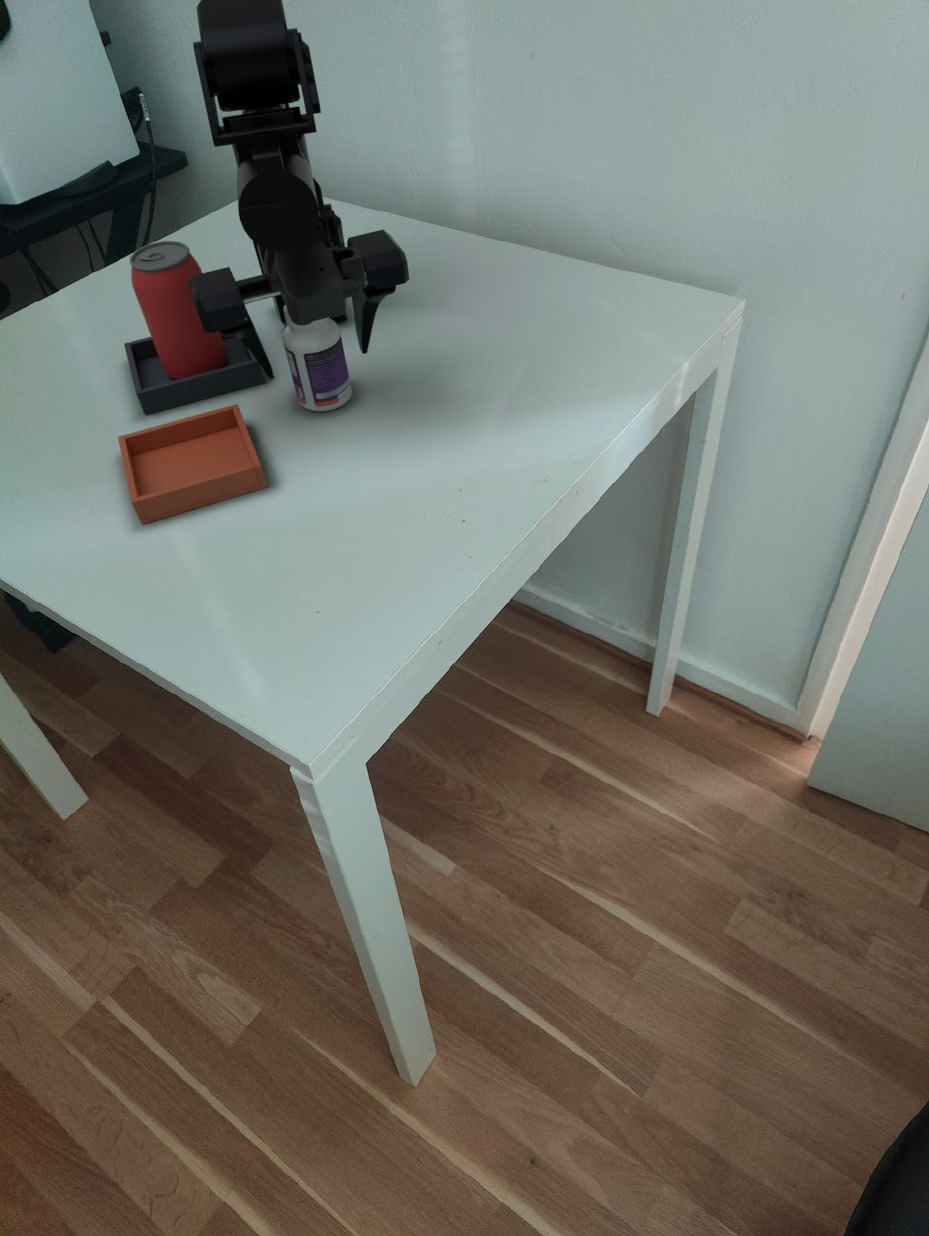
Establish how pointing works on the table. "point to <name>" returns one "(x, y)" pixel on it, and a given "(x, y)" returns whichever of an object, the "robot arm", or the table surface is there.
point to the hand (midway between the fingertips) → (318, 364)
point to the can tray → (168, 393)
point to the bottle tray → (190, 463)
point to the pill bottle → (317, 363)
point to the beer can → (174, 310)
